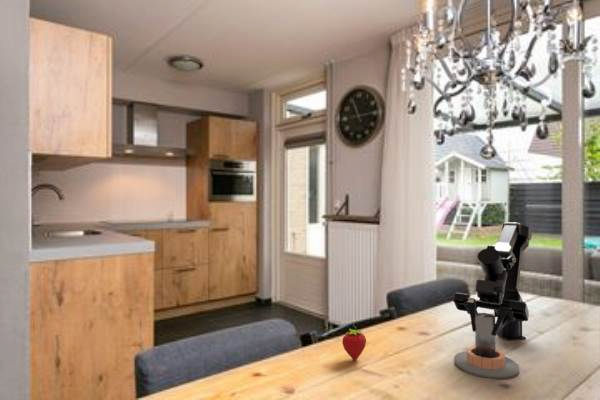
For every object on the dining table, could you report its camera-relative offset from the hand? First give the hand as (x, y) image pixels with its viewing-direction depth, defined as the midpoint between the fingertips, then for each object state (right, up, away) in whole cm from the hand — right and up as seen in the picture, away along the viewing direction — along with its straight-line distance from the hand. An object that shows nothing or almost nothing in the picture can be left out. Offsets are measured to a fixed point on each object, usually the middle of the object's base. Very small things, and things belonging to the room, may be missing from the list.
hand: (483, 333), depth 105 cm
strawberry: (-34, -10, +6) cm, 36 cm away
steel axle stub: (+1, -7, +1) cm, 7 cm away
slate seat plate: (+1, -9, +1) cm, 9 cm away
